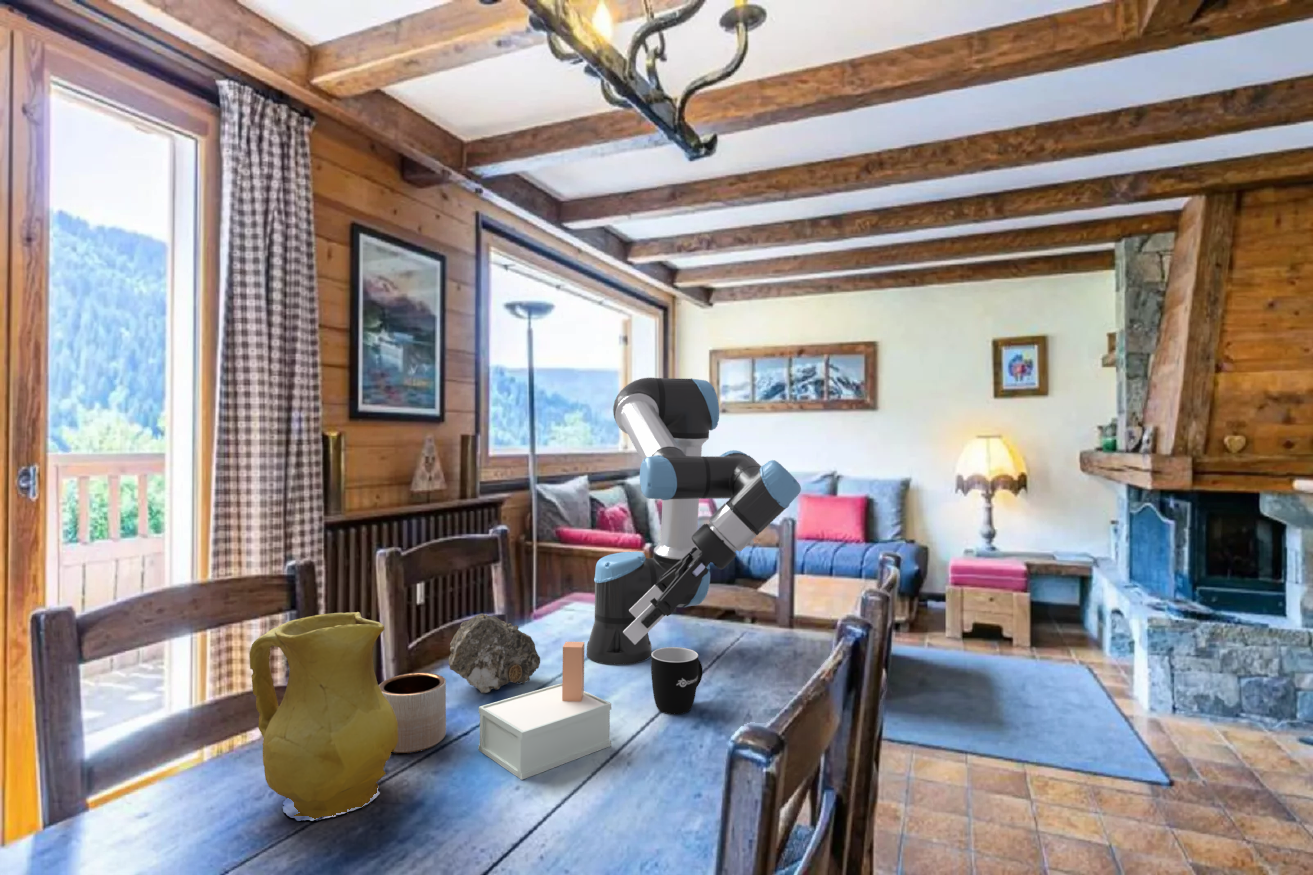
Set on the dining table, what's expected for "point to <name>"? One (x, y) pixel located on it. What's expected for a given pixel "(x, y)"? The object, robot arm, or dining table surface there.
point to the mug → (675, 678)
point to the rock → (492, 653)
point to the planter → (417, 709)
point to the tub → (543, 738)
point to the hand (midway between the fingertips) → (631, 626)
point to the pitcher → (324, 713)
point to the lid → (552, 696)
